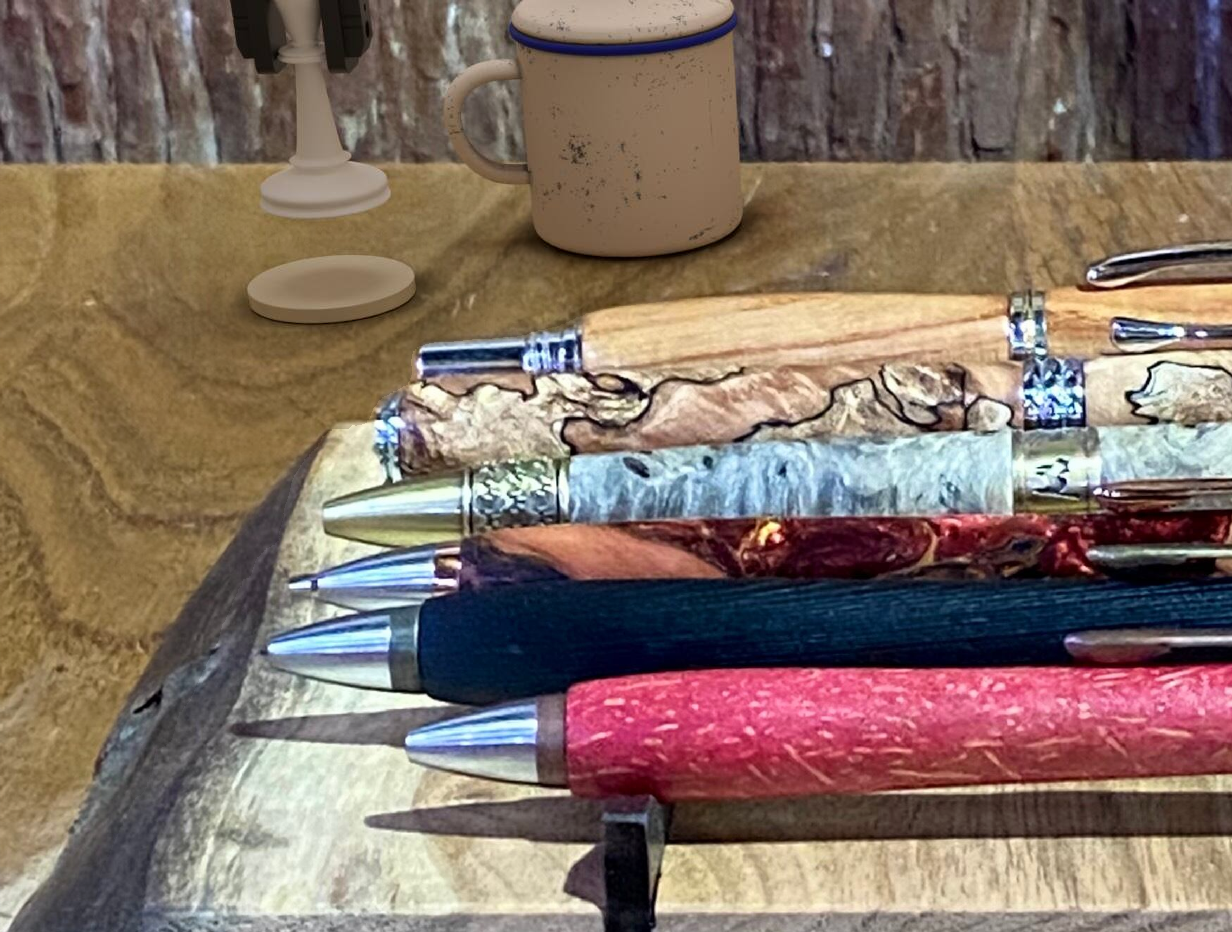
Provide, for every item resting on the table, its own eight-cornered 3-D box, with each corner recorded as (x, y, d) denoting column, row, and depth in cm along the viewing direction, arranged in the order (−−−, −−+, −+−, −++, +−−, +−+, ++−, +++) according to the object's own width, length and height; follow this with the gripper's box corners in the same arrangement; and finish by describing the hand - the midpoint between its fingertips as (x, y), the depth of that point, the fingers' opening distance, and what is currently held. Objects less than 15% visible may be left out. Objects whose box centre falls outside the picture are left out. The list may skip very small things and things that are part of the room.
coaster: (230, 324, 102) (227, 309, 102) (271, 269, 107) (270, 255, 107) (397, 322, 102) (395, 307, 101) (430, 268, 107) (429, 253, 107)
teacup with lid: (727, 185, 116) (711, -91, 111) (768, 249, 108) (752, -45, 103) (448, 212, 114) (417, -69, 108) (468, 279, 106) (436, -20, 100)
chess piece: (268, 184, 104) (230, -78, 100) (396, 177, 105) (364, -84, 100) (252, 223, 100) (212, -50, 95) (386, 216, 100) (352, -57, 96)
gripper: (6, -418, 89) (95, 98, 97) (419, -428, 88) (474, 93, 97) (79, -439, 96) (156, 46, 104) (463, -449, 95) (511, 41, 103)
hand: (309, 66), depth 100 cm, fingers closed on chess piece
